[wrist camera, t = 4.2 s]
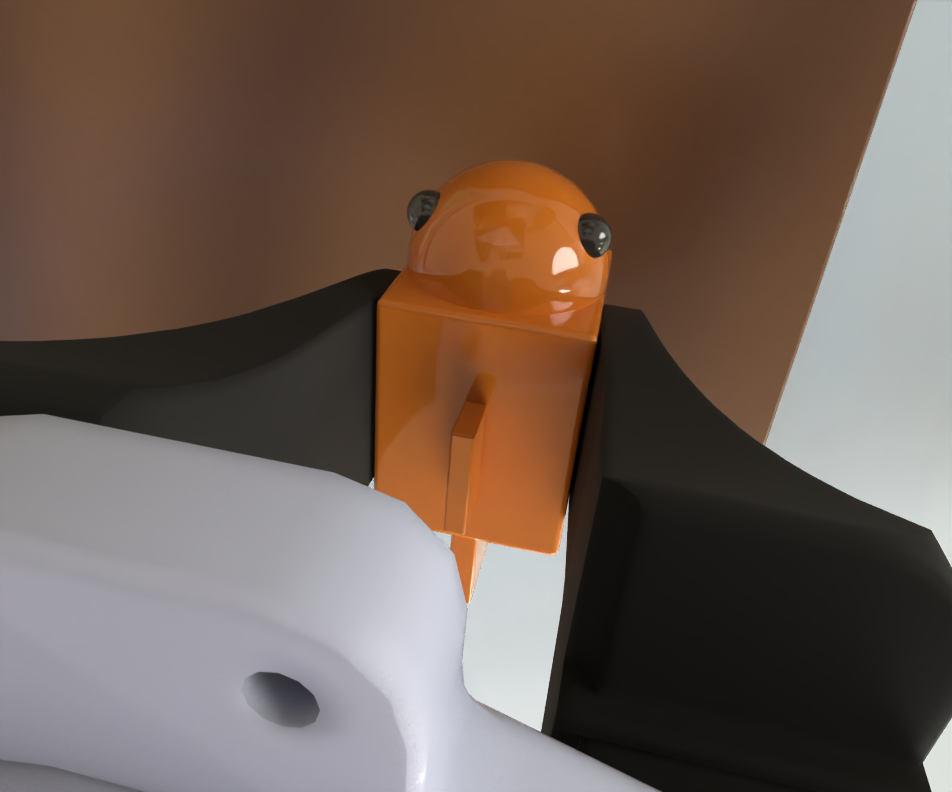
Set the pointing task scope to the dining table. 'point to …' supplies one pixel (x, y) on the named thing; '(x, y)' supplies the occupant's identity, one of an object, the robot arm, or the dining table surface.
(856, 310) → the dining table surface
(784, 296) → the board
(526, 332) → the goldfish
